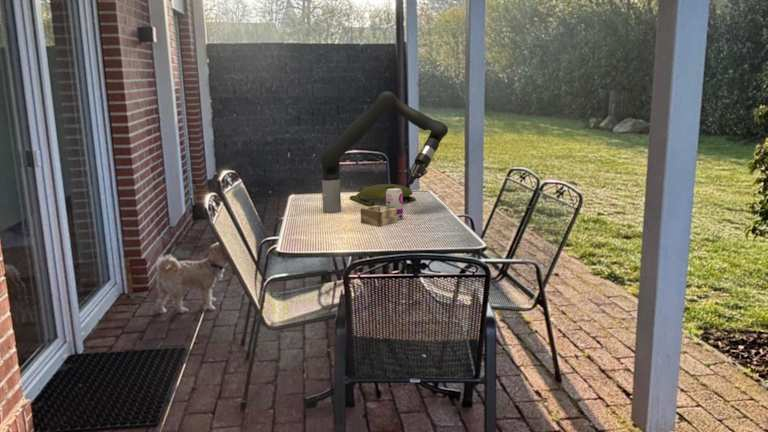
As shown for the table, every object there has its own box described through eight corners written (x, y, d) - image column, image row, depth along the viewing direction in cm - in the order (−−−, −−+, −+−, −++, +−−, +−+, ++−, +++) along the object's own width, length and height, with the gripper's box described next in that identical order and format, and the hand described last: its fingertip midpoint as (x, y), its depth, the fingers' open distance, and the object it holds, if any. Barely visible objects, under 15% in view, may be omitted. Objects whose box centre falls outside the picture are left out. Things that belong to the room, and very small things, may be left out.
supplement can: (405, 217, 327) (404, 188, 324) (400, 221, 319) (399, 190, 316) (389, 217, 329) (388, 187, 326) (384, 220, 322) (383, 190, 319)
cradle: (378, 219, 325) (377, 205, 324) (397, 222, 316) (396, 208, 315) (361, 223, 318) (360, 208, 316) (380, 226, 308) (379, 212, 307)
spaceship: (348, 199, 385) (347, 183, 383) (395, 194, 397) (395, 178, 395) (371, 209, 353) (370, 191, 351) (422, 203, 365) (421, 186, 363)
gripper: (411, 151, 336) (395, 178, 330) (430, 152, 327) (414, 180, 321) (419, 160, 341) (403, 187, 335) (438, 161, 331) (422, 189, 326)
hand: (409, 183), depth 328 cm, fingers closed
